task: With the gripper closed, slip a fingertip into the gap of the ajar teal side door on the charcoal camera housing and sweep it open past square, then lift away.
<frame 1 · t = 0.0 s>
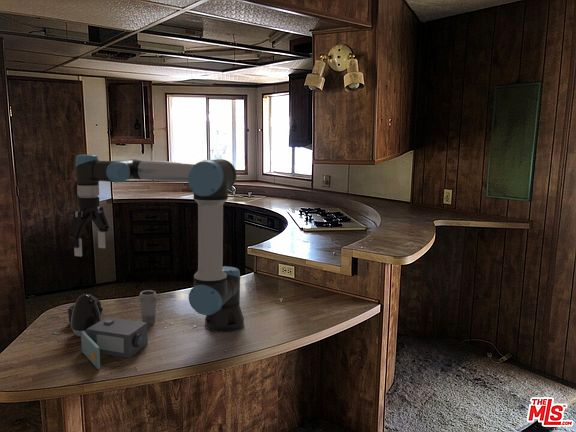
hand: (90, 251, 173), 28 cm above the countertop, fingers open, 13 cm apart
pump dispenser: (86, 334, 166), on the countertop
side door: (88, 349, 146), point 4 cm above the countertop, hinge at 35.0°
camera: (87, 321, 179), on the countertop
housing: (118, 347, 157), on the countertop
cup: (148, 322, 179), on the countertop
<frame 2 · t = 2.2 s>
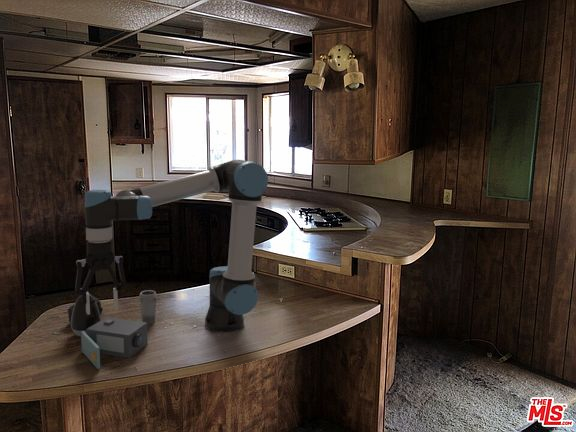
hand: (102, 310, 144), 17 cm above the countertop, fingers open, 8 cm apart
nothing on the countertop moved.
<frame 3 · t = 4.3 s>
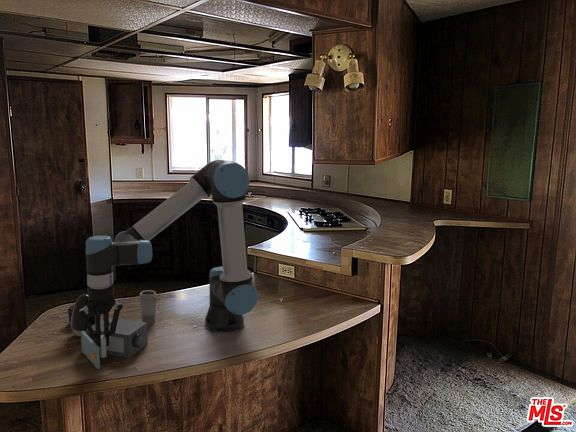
hand: (103, 355, 147), 2 cm above the countertop, fingers closed
side door: (88, 349, 146), point 4 cm above the countertop, hinge at 35.3°, touching gripper
everything else where it was.
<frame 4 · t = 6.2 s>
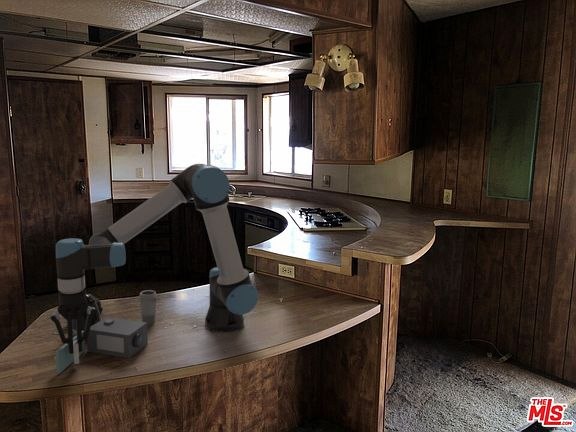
hand: (76, 361, 142), 2 cm above the countertop, fingers closed
side door: (70, 351, 145), point 4 cm above the countertop, hinge at 80.1°, touching gripper
everything else where it was.
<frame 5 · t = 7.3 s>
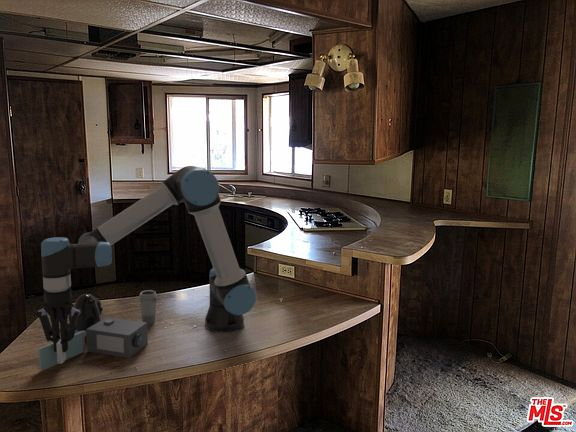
hand: (61, 361, 142), 2 cm above the countertop, fingers closed
side door: (62, 349, 146), point 4 cm above the countertop, hinge at 105.1°, touching gripper
everything else where it was.
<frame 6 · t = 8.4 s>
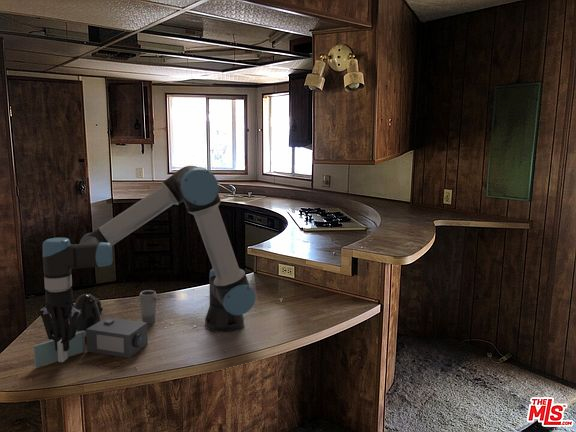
hand: (63, 360, 144), 2 cm above the countertop, fingers closed
side door: (60, 348, 147), point 4 cm above the countertop, hinge at 116.5°
everything else where it was.
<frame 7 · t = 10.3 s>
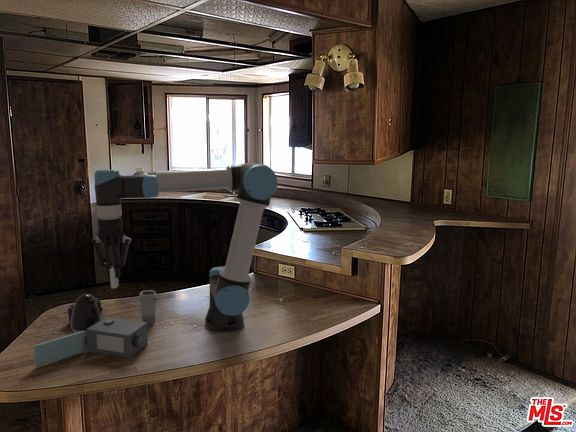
hand: (114, 287, 152), 22 cm above the countertop, fingers closed
nothing on the countertop moved.
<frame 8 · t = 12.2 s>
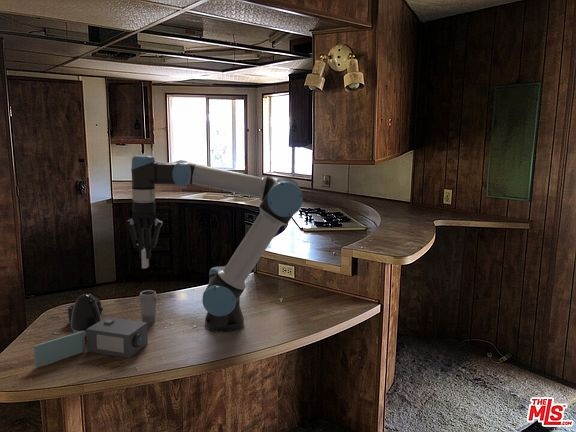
hand: (145, 267, 161), 26 cm above the countertop, fingers closed
nothing on the countertop moved.
at the end: side door at +116° (first picture: +35°); side door touching nothing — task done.
